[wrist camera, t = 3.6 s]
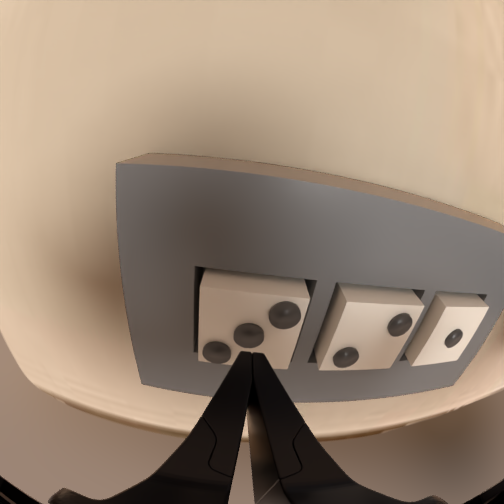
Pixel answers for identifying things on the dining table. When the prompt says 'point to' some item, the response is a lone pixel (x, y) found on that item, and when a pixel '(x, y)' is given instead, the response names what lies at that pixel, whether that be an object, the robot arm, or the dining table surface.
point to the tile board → (289, 263)
